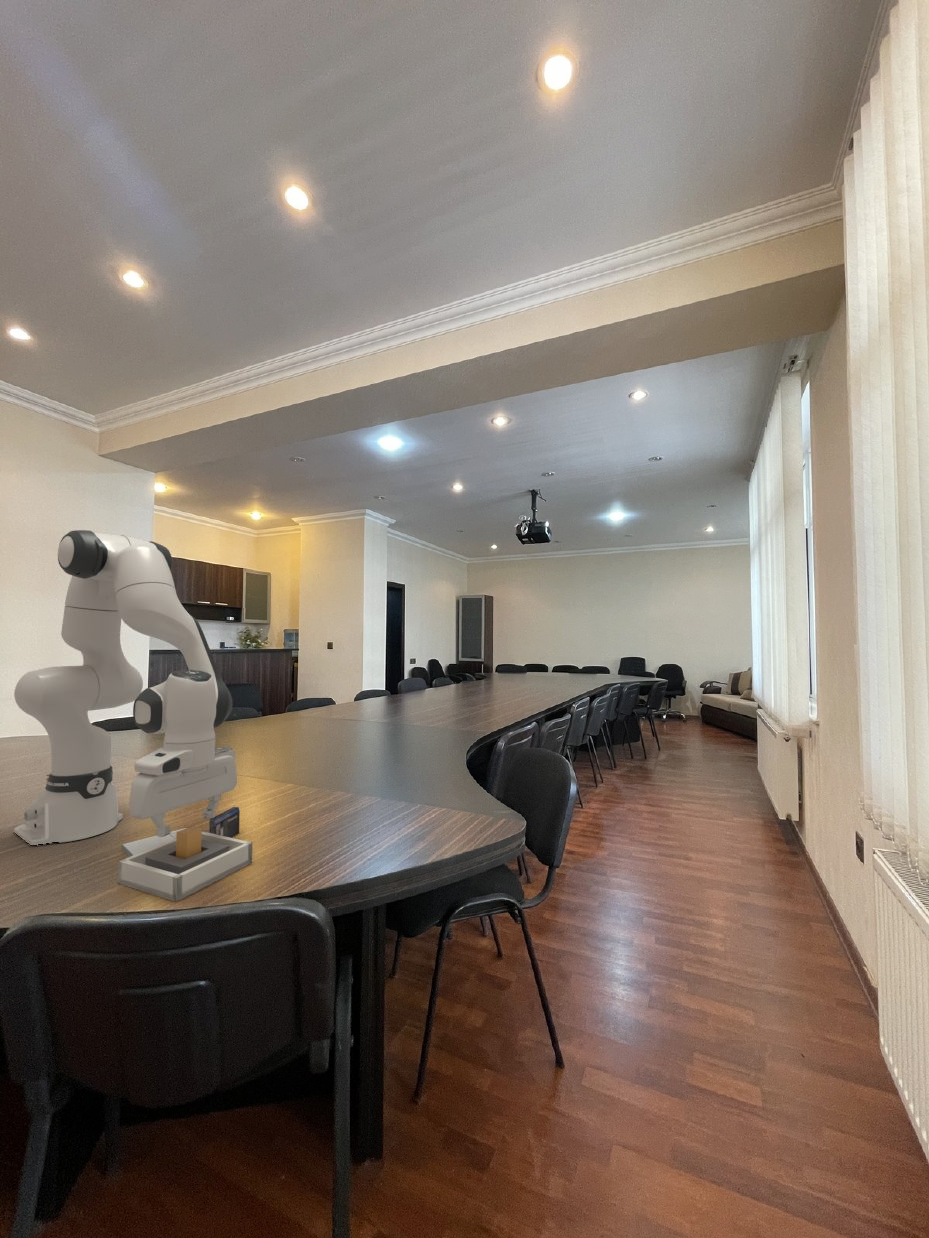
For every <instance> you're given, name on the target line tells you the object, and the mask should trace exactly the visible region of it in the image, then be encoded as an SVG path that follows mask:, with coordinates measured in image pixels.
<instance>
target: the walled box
mask: <svg viewBox="0 0 929 1238" xmlns="http://www.w3.org/2000/svg"><path fill="white" fill-rule="evenodd" d="M250 864H251V865H252V864H253V842H252V841H248V840H244V839H238V838H235V837H232V838H230V837H225V836H221V835H216V834H212V833H209V832H207V831H202V832H201V852H200V853H198V854H196V855H193V856H191V857H189V858H187V859H183V858H179V857H176V839H174V840H172V841H169V842H167V843H164V844H162V845H159V846H157V847H154V848H152V849H149V850H146V851H144V852H141V853H139V854H136V855H134V856H131V857H129V856H128V857H126V858H124V859H120V860H118V868H117V869H118V871H117V872H118V873H117V874H118V875H117V877H118V878H117V884H118V885H121V886H124V887H126V888H127V887H128V888H131V889H134V890H137V891H139V892H140V891H141V892H143V893H147V894H149V895H153V896H156V897H159V898H163V899H166V900H169V901H171V902H175V903H177V902H179V901H181V900H183V899H185V898H187V897H188V896H191V895H193V894H195V893H197V892H198V891H200V890H202V889H204V888H207V887H208V886H210V885H213V884H214V883H216V882H217V881H220V880H222V879H224V878H226V877H227V876H229V875H232V874H233V873H236V872H238V871H239V870H241V869H243V868H245V867H247V866H249V865H250Z"/></svg>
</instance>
